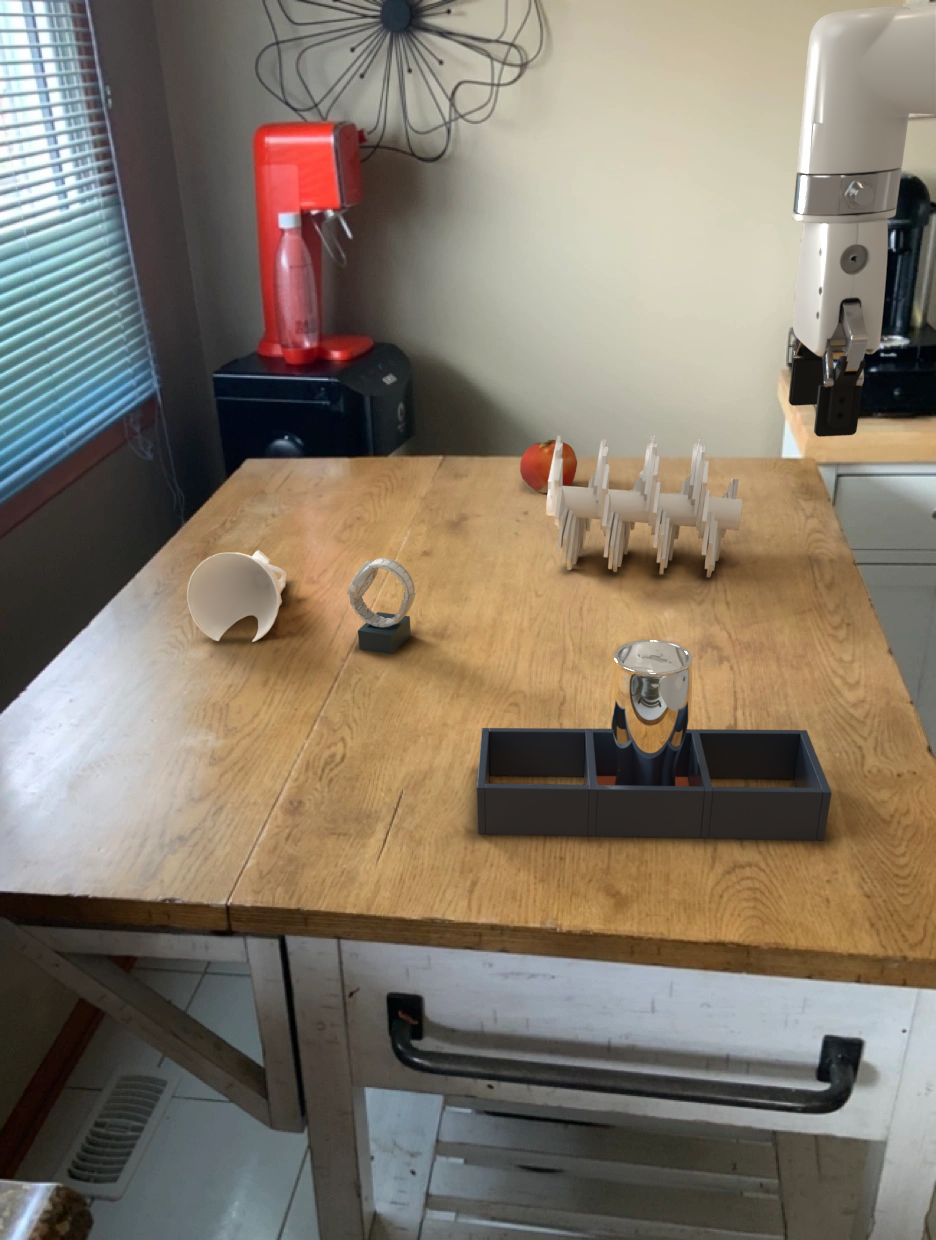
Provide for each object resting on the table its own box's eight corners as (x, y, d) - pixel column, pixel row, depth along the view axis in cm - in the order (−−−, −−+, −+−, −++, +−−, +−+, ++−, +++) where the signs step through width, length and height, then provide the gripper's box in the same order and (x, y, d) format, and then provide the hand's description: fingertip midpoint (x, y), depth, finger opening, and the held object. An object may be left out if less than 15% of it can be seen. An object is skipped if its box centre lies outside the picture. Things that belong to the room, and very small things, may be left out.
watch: (364, 632, 140) (358, 549, 135) (424, 641, 137) (420, 556, 132) (344, 652, 136) (337, 566, 130) (405, 661, 133) (400, 574, 127)
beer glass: (654, 774, 107) (664, 631, 100) (698, 811, 101) (712, 663, 94) (591, 793, 105) (595, 648, 98) (632, 832, 99) (640, 682, 92)
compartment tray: (799, 780, 106) (806, 729, 104) (823, 846, 97) (832, 792, 95) (482, 777, 110) (481, 727, 107) (477, 839, 101) (476, 787, 98)
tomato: (581, 496, 180) (582, 447, 176) (523, 500, 180) (523, 450, 176) (572, 478, 188) (573, 431, 184) (517, 482, 188) (516, 434, 184)
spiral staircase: (727, 612, 149) (538, 594, 154) (734, 516, 158) (556, 502, 163) (747, 513, 134) (537, 497, 139) (753, 413, 143) (557, 402, 149)
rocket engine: (264, 513, 152) (223, 532, 135) (329, 569, 153) (297, 595, 136) (214, 577, 156) (168, 603, 139) (279, 632, 156) (241, 664, 139)
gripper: (932, 204, 79) (896, 446, 87) (865, 183, 94) (840, 391, 102) (821, 212, 80) (796, 450, 88) (772, 190, 95) (755, 395, 103)
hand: (820, 418), depth 95 cm, fingers open, 9 cm apart
